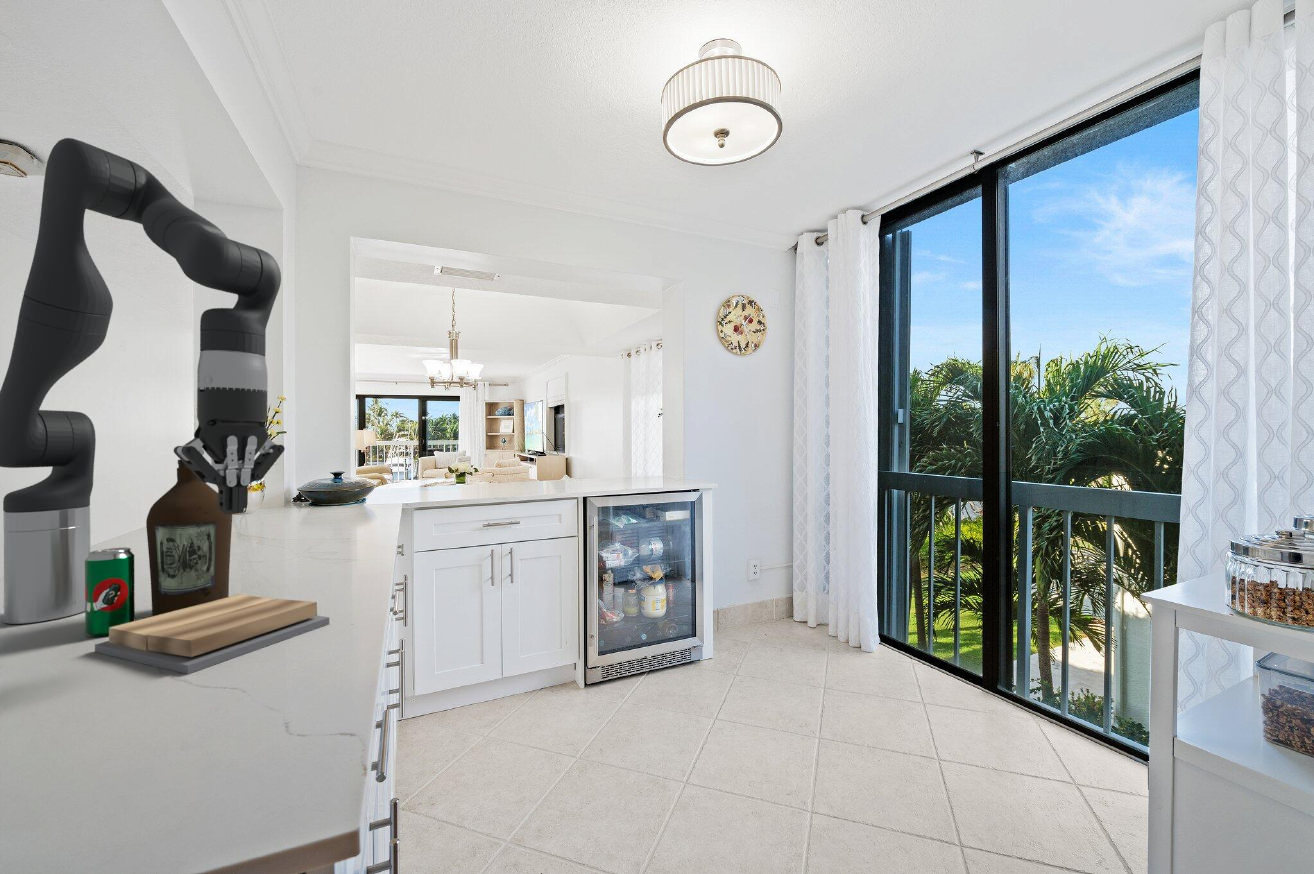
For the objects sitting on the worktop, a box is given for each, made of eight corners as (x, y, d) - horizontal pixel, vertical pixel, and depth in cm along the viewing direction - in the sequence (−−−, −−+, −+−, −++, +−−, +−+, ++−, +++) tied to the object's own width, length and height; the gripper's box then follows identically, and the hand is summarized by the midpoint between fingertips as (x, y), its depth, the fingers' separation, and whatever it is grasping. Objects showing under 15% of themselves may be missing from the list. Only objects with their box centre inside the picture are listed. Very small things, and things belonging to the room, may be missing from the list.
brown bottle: (155, 608, 88) (154, 459, 88) (236, 597, 94) (235, 457, 94) (138, 626, 79) (137, 461, 80) (228, 613, 85) (227, 459, 85)
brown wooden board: (148, 650, 67) (147, 634, 67) (276, 611, 82) (276, 598, 82) (191, 657, 64) (190, 640, 64) (317, 615, 79) (316, 602, 79)
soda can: (144, 626, 80) (143, 546, 80) (106, 638, 75) (105, 554, 75) (114, 625, 80) (114, 546, 80) (74, 637, 75) (74, 553, 75)
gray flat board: (94, 651, 70) (94, 644, 70) (242, 610, 87) (242, 604, 87) (188, 674, 63) (188, 665, 63) (329, 623, 80) (329, 617, 80)
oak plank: (109, 642, 70) (109, 627, 70) (240, 606, 85) (239, 594, 85) (146, 650, 67) (146, 635, 67) (275, 612, 82) (274, 599, 82)
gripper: (265, 391, 80) (264, 506, 80) (157, 383, 67) (156, 518, 67) (300, 390, 77) (299, 508, 77) (194, 381, 65) (193, 522, 65)
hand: (232, 513), depth 72 cm, fingers closed
